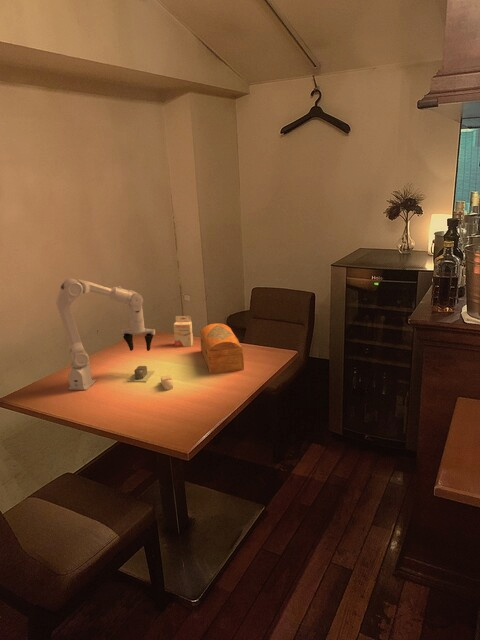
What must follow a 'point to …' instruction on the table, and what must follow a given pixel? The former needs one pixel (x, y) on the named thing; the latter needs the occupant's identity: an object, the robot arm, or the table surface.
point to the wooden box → (221, 349)
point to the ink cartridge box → (183, 331)
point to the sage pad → (145, 379)
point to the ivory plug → (166, 382)
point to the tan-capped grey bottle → (140, 372)
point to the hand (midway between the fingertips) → (140, 350)
